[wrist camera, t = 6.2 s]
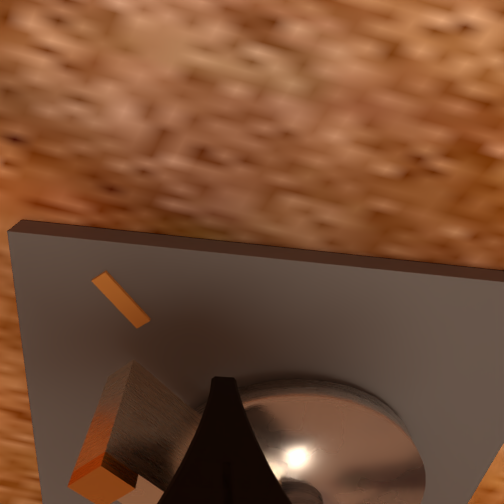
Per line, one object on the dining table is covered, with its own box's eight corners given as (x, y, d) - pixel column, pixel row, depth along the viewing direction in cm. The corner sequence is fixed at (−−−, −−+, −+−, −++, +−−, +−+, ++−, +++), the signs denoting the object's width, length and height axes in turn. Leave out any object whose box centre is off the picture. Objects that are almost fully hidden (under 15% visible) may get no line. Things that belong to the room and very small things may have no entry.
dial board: (420, 550, 24) (429, 573, 23) (58, 543, 22) (49, 568, 21) (572, 278, 16) (596, 293, 15) (21, 219, 14) (4, 233, 13)
